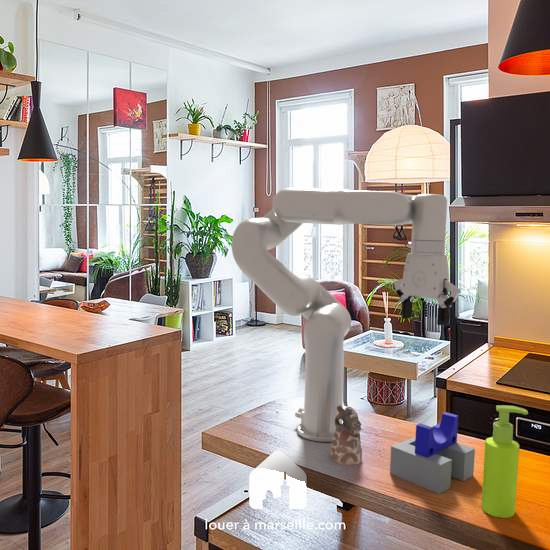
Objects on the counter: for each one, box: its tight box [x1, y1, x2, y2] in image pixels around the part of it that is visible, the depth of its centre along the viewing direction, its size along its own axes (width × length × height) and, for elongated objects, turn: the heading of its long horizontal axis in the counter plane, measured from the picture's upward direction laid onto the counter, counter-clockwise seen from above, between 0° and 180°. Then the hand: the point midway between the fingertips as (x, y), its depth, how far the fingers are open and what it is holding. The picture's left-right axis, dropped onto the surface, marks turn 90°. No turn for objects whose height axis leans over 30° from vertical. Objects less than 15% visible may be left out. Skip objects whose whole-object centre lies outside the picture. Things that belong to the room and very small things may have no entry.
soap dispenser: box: [480, 404, 529, 519], centre depth 108 cm, size 6×7×20 cm
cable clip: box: [415, 411, 459, 458], centre depth 123 cm, size 12×4×6 cm, turn 135°
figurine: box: [329, 405, 363, 466], centre depth 131 cm, size 7×7×12 cm
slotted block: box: [389, 435, 476, 495], centre depth 124 cm, size 12×13×6 cm
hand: (424, 321), depth 136 cm, fingers open, 9 cm apart
